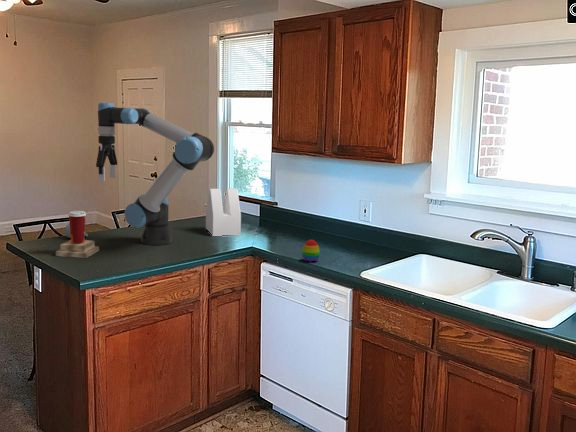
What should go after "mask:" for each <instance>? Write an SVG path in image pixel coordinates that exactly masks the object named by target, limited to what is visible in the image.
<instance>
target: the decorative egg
mask: <svg viewBox="0 0 576 432" xmlns="http://www.w3.org/2000/svg"><path fill="white" fill-rule="evenodd" d="M301 255H302V258H303V261H305V262H306V261H316V262H317V261H318V260H319V258H320V255H321V251H320V246H319V245H318V242H316V241H315V240H314V239H309V240H307V241H306V242H305V244H304V245H303V247H302V251H301Z"/></svg>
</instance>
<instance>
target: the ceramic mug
mask: <svg viewBox="0 0 576 432" xmlns="http://www.w3.org/2000/svg"><path fill="white" fill-rule="evenodd" d="M64 235H65V236H66V237H67V238H68V239H71V234H70V222H69V223H68V224H67V225H65V228H64ZM85 236H86V238H87V237H89V234H88V233H87V229H86V228H85Z"/></svg>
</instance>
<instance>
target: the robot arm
mask: <svg viewBox="0 0 576 432" xmlns="http://www.w3.org/2000/svg"><path fill="white" fill-rule="evenodd" d="M97 119H98V120H97V121H98V123H97V125H98V126H97V131H98V140H97V141H98V144H101V145H99V146H98V152H97V156H96V157H97V158H96V164H95V167H96V168H98V171H97V172H98V182H105V181H106V180H105V179H106V175H105V174H106V173H105V172H106V171H105V170H106V168H105V163H106V160H108V162H109V179H116V166H117V165H118V159H117V154H116V150H115V145H114V144H115V143H116V137H115V135H116V131H115V129H116V125H115V124H121V125H122V124H123V125H125V124H126V125H139V126H141V127H144V128H146V129H148V130H150V131H151V132H153V133H156V134H157V135H160V136H162V137H164V138H166V139H167V140H169V141H172V142H174V143H175V146H174V152H173V153H172V155H171V156H172V160H171V161H170V162H169V164H167V166H166V167H165V169H163V171H162V172H161V174H160V175H159V176H158V177H157V178H156V179H155V181H154V182H153V184H152V185H151V186H150V187H149V189H148V190H147V191H146V193H145V194H140V195H139V196H138V197H137V198H136V200H135V201H134V202H133V203H130V204H128V205H127V206H126V207H125V208H124V218H125V220H126V221H125V222H127V223H128V225H129V226H131V227H133V228H143V227H144V228H143V231H142V234H141V238H140V242H141V244H144V245H149V246H162V245H163V246H165V245H168V244H171V243H172V240H173V239H172V238H173V237H172V235H171V232H170V228H169V206H170V205H169V200H168V198H167V197H169V195H170V194H171V192H172V191H173V190H174V189H175V187H176V186H177V185H178V184H179V183H180V181H181V180H182V179H183V177H184V176H186V174H187V173H188V171H189V172H191V171H194V169H195V168H196V167H197V165H199V163H200V162H201V163H202V162H206V161H208V160H210V159H211V158H212V157H213V155H214V152H215V146H214V145H215V144H214V143H213V140H211V139H210V138H209V137H207V136H205V135H202V134H200V133H198V132H191V131H188V130H187V129H186V128H183V127H180V126H179V125H176V124H174V123H172V122H170V121H168V120H166V119H164V118H162V117H160V116H158V115H155V114H154V113H152V112H151V111H149V109H147V108H143V107H142V108H140V107H139V108H137V107H136V108H135V107H116V106H115V103H113V102H99V103H98V105H97Z"/></svg>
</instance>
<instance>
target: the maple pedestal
mask: <svg viewBox="0 0 576 432" xmlns="http://www.w3.org/2000/svg"><path fill="white" fill-rule="evenodd" d="M59 246H60V247H59V248H60V249H58V250H56V251H55V256H56V257H63V258H65V257H67V258H83V259H86V258H89V257H90V256H93V255H94V254H96V253H97V252H99V251H100V246H97V245H95V240H89V239H88V240H87V239H85V240H84V243H81V244H73V243H71V239H70V240H66V241H64V242H63V243H61V244H59Z"/></svg>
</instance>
